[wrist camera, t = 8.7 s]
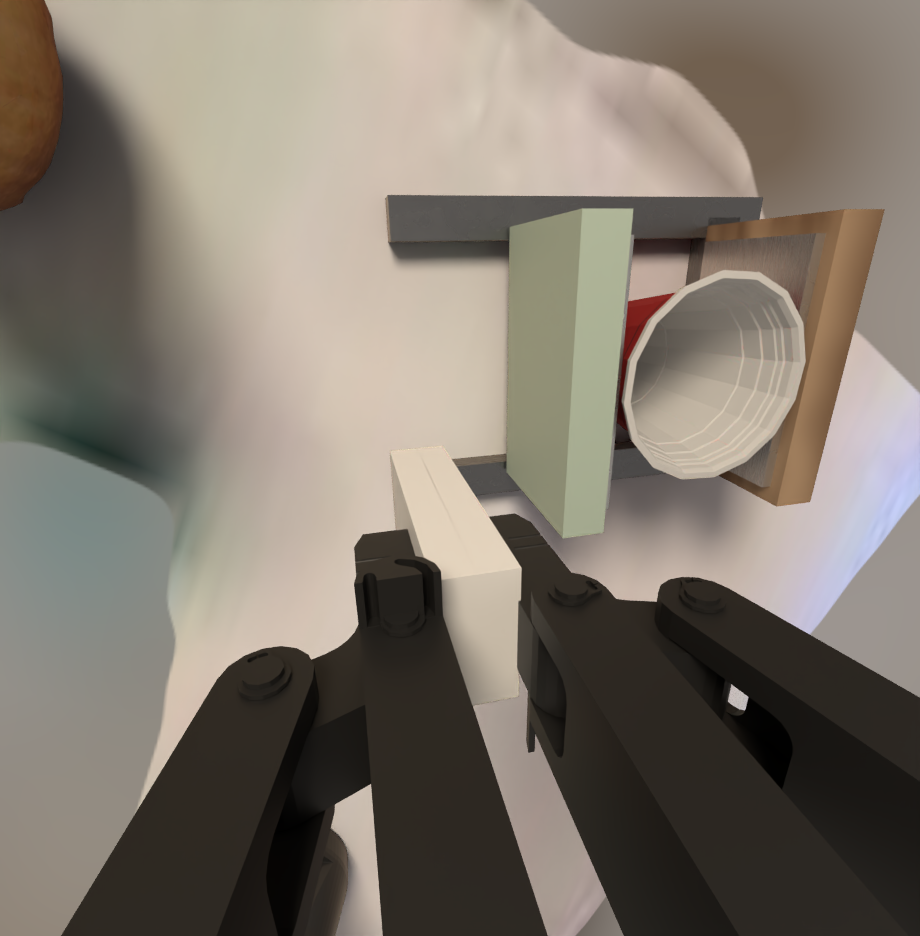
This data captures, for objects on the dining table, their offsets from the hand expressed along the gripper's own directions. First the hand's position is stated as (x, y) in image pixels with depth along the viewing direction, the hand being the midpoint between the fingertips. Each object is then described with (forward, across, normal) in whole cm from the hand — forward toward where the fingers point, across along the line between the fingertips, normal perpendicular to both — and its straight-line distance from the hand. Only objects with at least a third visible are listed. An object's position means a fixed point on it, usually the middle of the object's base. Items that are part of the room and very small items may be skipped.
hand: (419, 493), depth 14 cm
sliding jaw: (+19, -10, 0) cm, 22 cm away
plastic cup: (+21, -16, 0) cm, 26 cm away
